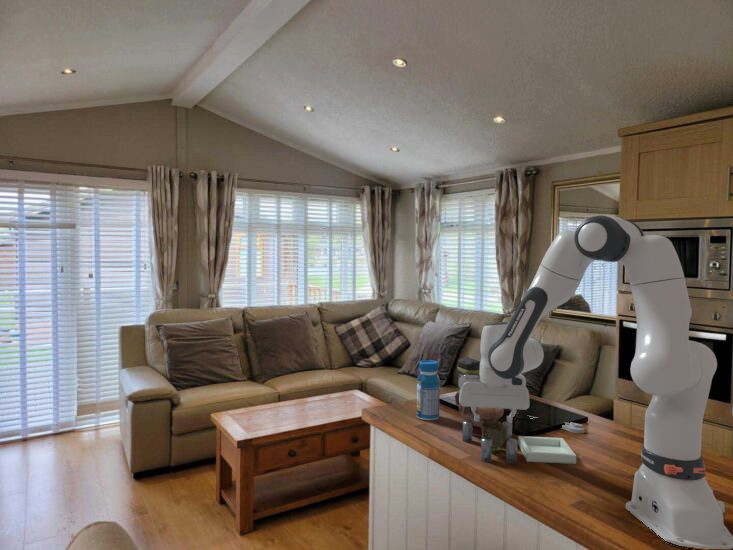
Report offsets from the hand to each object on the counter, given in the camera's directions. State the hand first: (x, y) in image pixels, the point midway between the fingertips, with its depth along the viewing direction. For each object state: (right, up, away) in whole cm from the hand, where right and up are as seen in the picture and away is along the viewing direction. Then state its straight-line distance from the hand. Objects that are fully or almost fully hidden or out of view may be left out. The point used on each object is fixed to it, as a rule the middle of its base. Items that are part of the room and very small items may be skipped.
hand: (492, 421), depth 149 cm
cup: (0, -9, 0) cm, 9 cm away
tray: (+15, -9, -2) cm, 18 cm away
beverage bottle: (-16, -7, +30) cm, 35 cm away
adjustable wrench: (+25, -8, +25) cm, 36 cm away
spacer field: (-1, -9, 0) cm, 9 cm away
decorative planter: (-1, -8, +16) cm, 18 cm away
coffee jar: (+2, -7, +43) cm, 44 cm away
